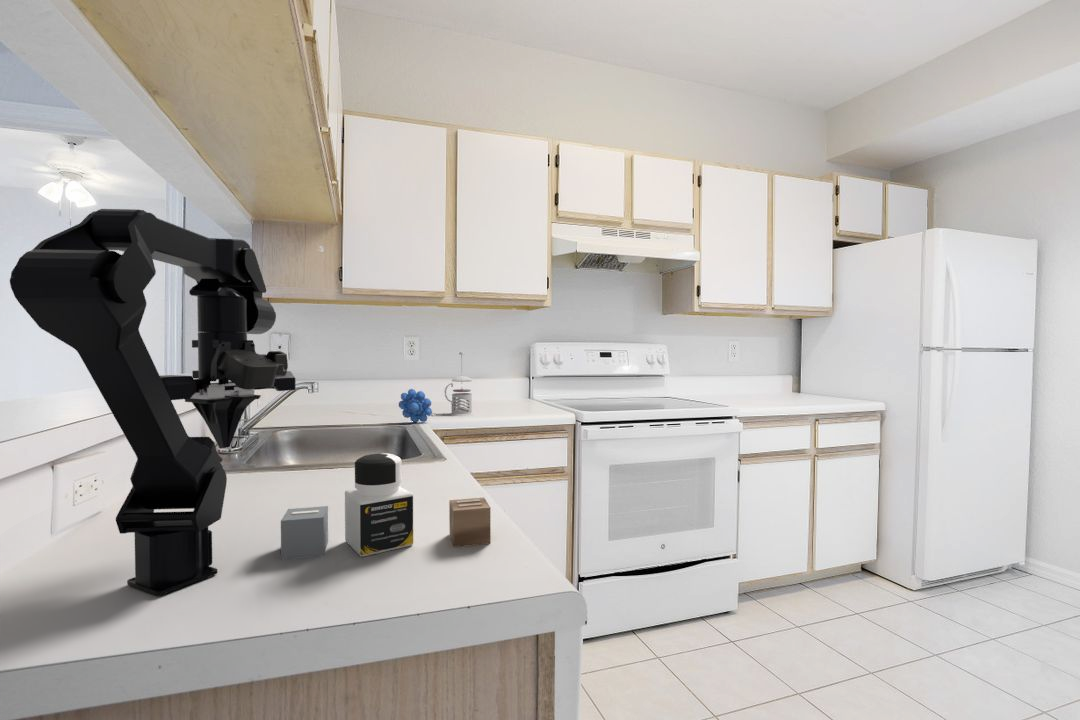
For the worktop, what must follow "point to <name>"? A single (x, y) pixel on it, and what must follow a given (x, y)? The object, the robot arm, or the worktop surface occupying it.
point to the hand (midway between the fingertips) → (224, 447)
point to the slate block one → (304, 532)
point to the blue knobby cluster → (415, 406)
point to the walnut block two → (469, 522)
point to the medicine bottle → (378, 507)
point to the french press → (461, 397)
